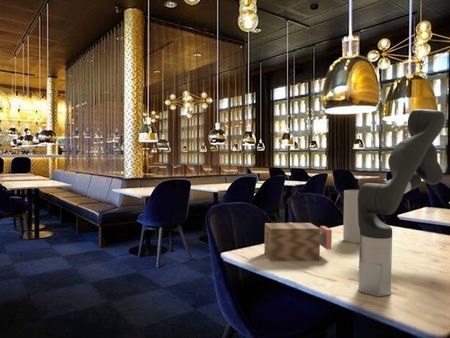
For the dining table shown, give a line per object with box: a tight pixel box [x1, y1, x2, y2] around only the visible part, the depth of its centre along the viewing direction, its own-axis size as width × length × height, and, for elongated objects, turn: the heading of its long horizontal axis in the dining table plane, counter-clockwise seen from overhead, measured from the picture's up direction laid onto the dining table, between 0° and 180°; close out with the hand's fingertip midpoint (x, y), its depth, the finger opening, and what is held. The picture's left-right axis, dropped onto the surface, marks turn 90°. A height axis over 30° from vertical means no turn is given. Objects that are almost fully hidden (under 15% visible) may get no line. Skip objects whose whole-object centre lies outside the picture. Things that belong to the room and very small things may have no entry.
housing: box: [264, 221, 321, 262], centre depth 143 cm, size 20×12×13 cm, turn 94°
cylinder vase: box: [342, 189, 360, 245], centre depth 172 cm, size 12×12×25 cm
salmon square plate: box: [319, 225, 333, 250], centre depth 144 cm, size 20×8×8 cm, turn 94°
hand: (359, 202), depth 142 cm, fingers closed
